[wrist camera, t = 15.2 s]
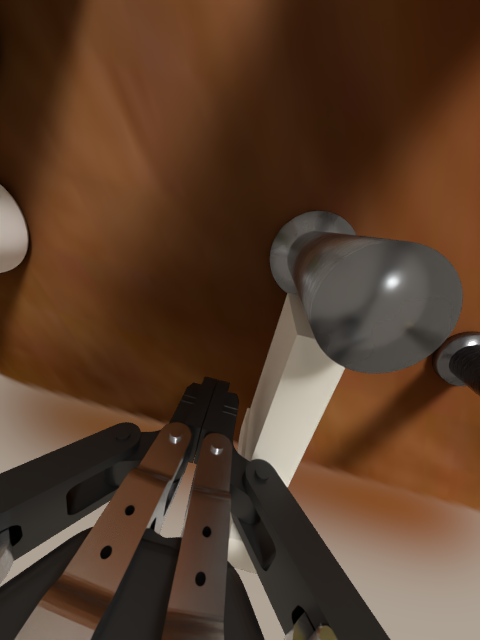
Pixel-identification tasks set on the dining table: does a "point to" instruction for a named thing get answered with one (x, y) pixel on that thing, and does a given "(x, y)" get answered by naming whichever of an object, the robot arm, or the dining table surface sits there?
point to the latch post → (460, 360)
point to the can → (11, 232)
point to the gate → (285, 405)
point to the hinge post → (367, 292)
